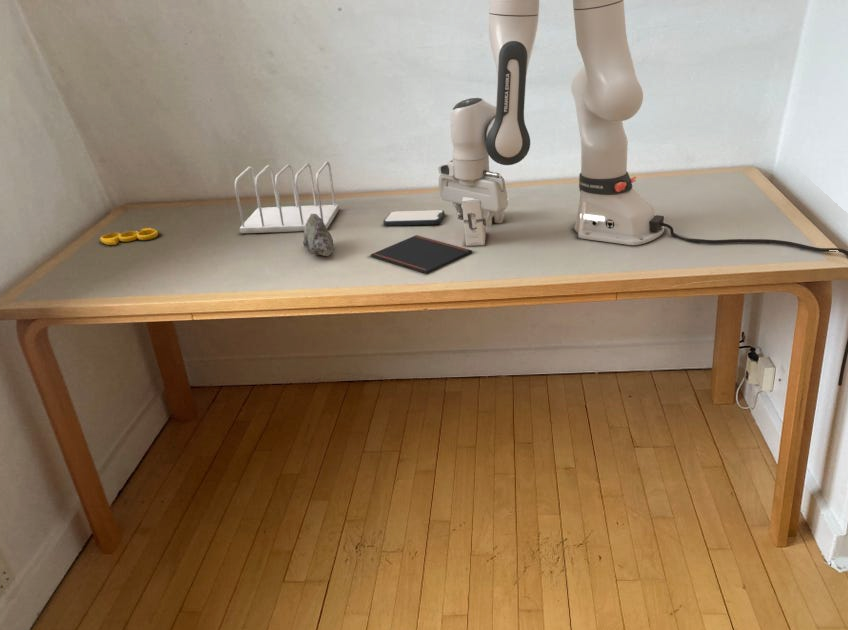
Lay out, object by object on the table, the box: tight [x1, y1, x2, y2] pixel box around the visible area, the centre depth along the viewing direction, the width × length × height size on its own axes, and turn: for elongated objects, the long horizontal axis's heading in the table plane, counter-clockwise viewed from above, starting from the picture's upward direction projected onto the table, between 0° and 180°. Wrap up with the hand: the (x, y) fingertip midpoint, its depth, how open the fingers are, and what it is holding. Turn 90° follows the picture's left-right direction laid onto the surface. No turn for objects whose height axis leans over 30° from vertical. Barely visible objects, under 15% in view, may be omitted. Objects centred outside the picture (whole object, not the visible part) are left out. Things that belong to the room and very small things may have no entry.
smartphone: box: [383, 209, 446, 227], centre depth 216 cm, size 9×2×16 cm
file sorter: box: [234, 160, 340, 234], centre depth 220 cm, size 25×17×16 cm
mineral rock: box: [302, 214, 335, 257], centre depth 198 cm, size 13×11×10 cm
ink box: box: [461, 197, 487, 247], centre depth 196 cm, size 9×5×12 cm, turn 174°
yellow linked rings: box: [99, 227, 159, 246], centre depth 223 cm, size 17×2×10 cm
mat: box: [370, 235, 473, 275], centre depth 193 cm, size 20×16×1 cm
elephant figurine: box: [484, 189, 510, 224], centre depth 209 cm, size 10×12×9 cm
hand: (474, 222), depth 196 cm, fingers open, 7 cm apart
